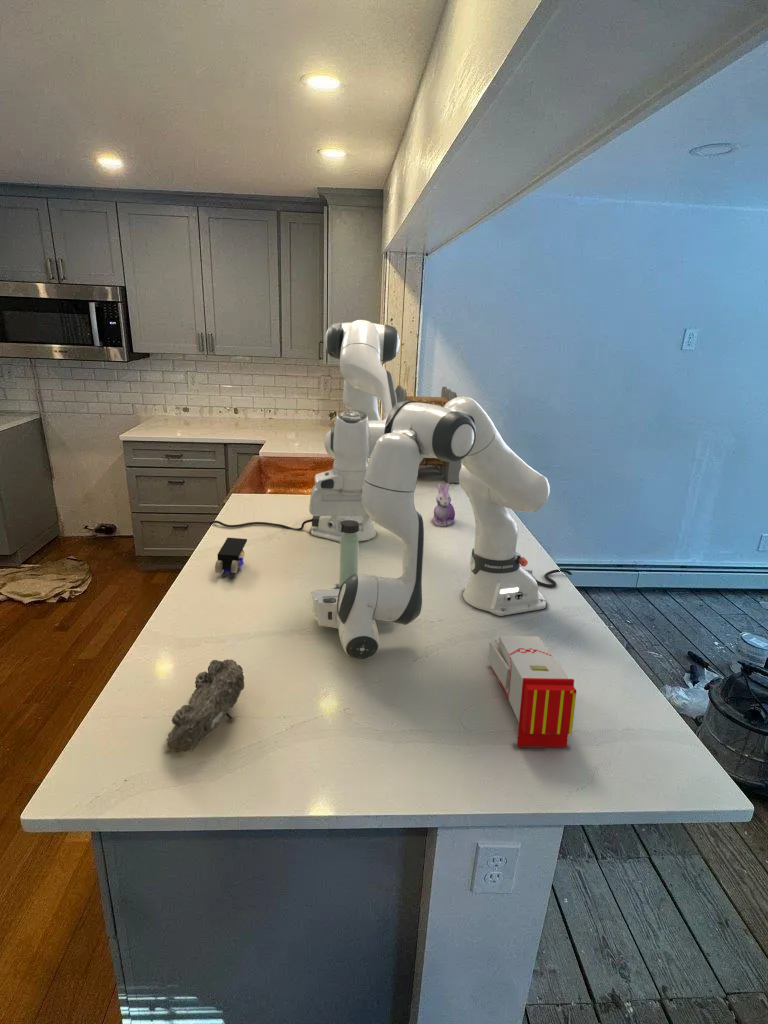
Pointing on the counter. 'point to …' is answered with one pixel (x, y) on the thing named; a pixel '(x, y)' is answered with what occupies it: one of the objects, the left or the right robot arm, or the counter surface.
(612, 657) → the counter surface
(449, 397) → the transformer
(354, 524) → the cap
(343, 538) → the bottle
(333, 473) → the left robot arm
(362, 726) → the counter surface
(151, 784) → the counter surface
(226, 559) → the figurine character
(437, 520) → the figurine
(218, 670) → the fossil
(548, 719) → the toy
